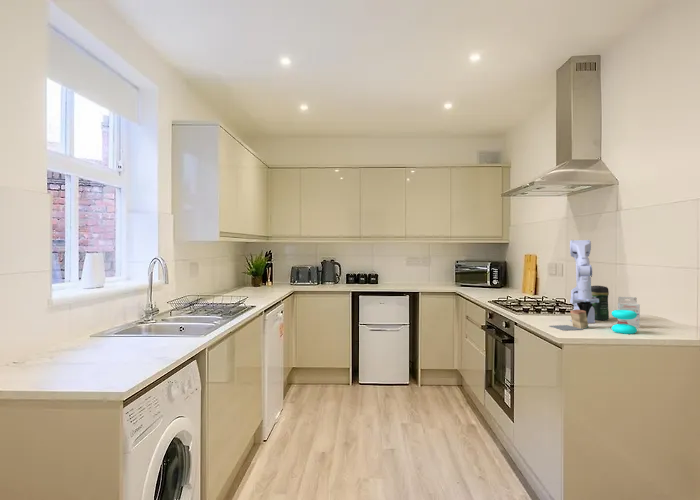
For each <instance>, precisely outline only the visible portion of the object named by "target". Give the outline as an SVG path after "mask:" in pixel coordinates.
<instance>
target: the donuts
mask: <svg viewBox="0 0 700 500" xmlns="http://www.w3.org/2000/svg"><path fill="white" fill-rule="evenodd" d="M611 316H612V317H613V318H615V319H617V320H618V319H627V320H628V319H634V318H636V316H637V313H636V312H634V311H629V310H618V309H614V310H612V311H611ZM611 331H612V332H614V333H617V334H622V335H623V334H624V335H633V334H637V331H638V328H636V327H634V326H632V325H629V324H618V323H616V324H613V325H612V326H611Z"/></svg>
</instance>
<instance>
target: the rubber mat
mask: <svg viewBox="0 0 700 500" xmlns="http://www.w3.org/2000/svg"><path fill="white" fill-rule="evenodd" d="M549 327H550V328H553V329H558V330H560V331H561V330H562V331H584V329H585V328H582V329H581V328H577V327H573V325H569V324H562V325H561V324H560V325H559V324H558V325H549Z"/></svg>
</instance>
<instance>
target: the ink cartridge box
mask: <svg viewBox="0 0 700 500" xmlns="http://www.w3.org/2000/svg"><path fill="white" fill-rule="evenodd" d="M617 298H618V300H617V310H629V311H634V312H636V313H637V316H636V318H634V319H628V320H627V319H618V318H617V324H629V325H632V326H634V327H636V329H640V324H641V323H640V316H641V315H640V312H641V309H640V305H641V304H639V303H638V302H637V301H638V300H637V298H638V297H637V296H636V297H633V296H618V297H617Z"/></svg>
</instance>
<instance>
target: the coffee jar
mask: <svg viewBox="0 0 700 500" xmlns="http://www.w3.org/2000/svg"><path fill="white" fill-rule="evenodd" d="M591 292H592V298H598V299H599V303H597V302H593V303H592V306H593V308H594V310H595V321H608V320H610V315H609V312H610V310H609V296H610V295H609V293H610V291H609V288H608V287H607V286H604V285H591Z"/></svg>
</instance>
